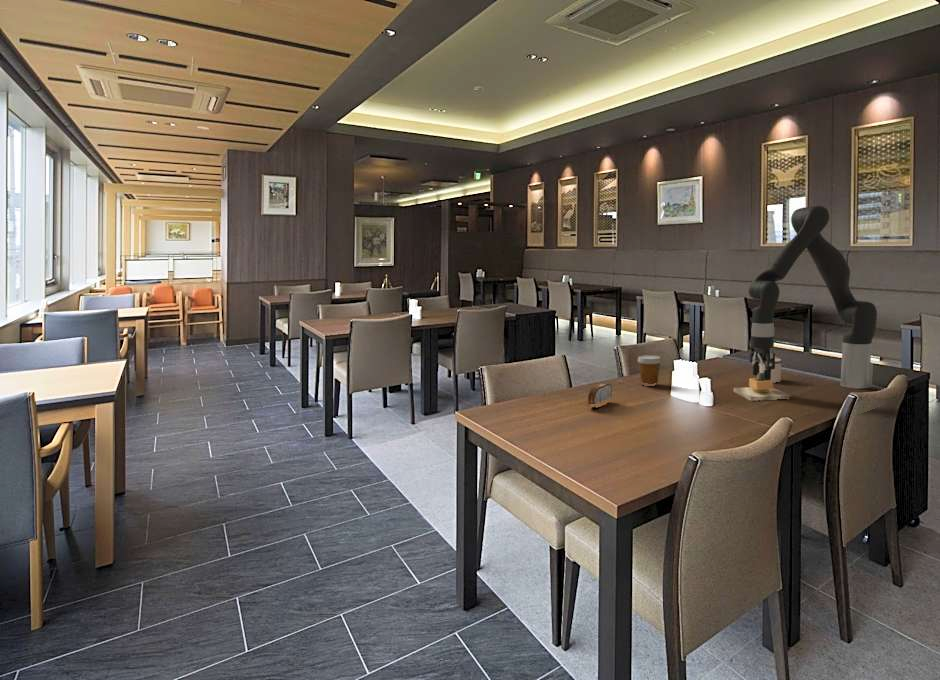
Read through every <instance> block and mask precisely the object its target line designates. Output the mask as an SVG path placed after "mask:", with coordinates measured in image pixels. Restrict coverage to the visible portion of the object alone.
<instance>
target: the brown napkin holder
mask: <svg viewBox="0 0 940 680" xmlns="http://www.w3.org/2000/svg"><path fill="white" fill-rule="evenodd" d="M612 391H613V386H612V384H611V383H609V382H605V381H602V382H600V383H597V384H594V385H593V386H592V387H591V389H590V390H589V392H588V398H587V403H588V405H589V404H597V403H599V402H601V401H603V400H606V399H608V398H610V397H611V398H612V394H613V393H612Z"/></svg>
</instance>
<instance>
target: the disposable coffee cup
mask: <svg viewBox="0 0 940 680" xmlns="http://www.w3.org/2000/svg"><path fill="white" fill-rule="evenodd" d="M637 358H638V359H637V362H638V368H639V379H640V383H641V382H643V383H648V384H654V383H657V384H658V380H659V375H660V374H659V373H660V366H661V363H662V359H661V357H660V356H658V355H655V354H654V355H653V354H652V355H651V354H649V355H646V354H645V355H639V356H638V357H637Z"/></svg>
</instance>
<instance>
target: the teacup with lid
mask: <svg viewBox="0 0 940 680" xmlns="http://www.w3.org/2000/svg"><path fill="white" fill-rule="evenodd" d="M782 362H783V360H782V359H781V358H779V357H777V356H775V369H772V370H771V379H770V380H771V381H773V384H776V382H778V383H780V382H781V377H782ZM771 365H772V363H771ZM759 366H760V369H759V373H764V367H763V365H762V364H761V362H760V364H759ZM766 367H767V365H766ZM756 376H757V378H758V375H756Z"/></svg>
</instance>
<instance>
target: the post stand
mask: <svg viewBox="0 0 940 680" xmlns="http://www.w3.org/2000/svg"><path fill="white" fill-rule="evenodd" d="M757 381H765V380H764V373H758V380H757ZM733 392H734V394H737V395H739V396H740V397H743V398H745V399H746V400H748V401H750V402H757V401H759V400H760V401H778V400H777V399H787V400H790V397H791V396H790V394H787V393H785V392H783V391H782V390H781V391H780V390H779V389H777V388H774V387H773V389H767V390H756V389H754V388H752V387H750V386H749V387H733Z"/></svg>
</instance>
